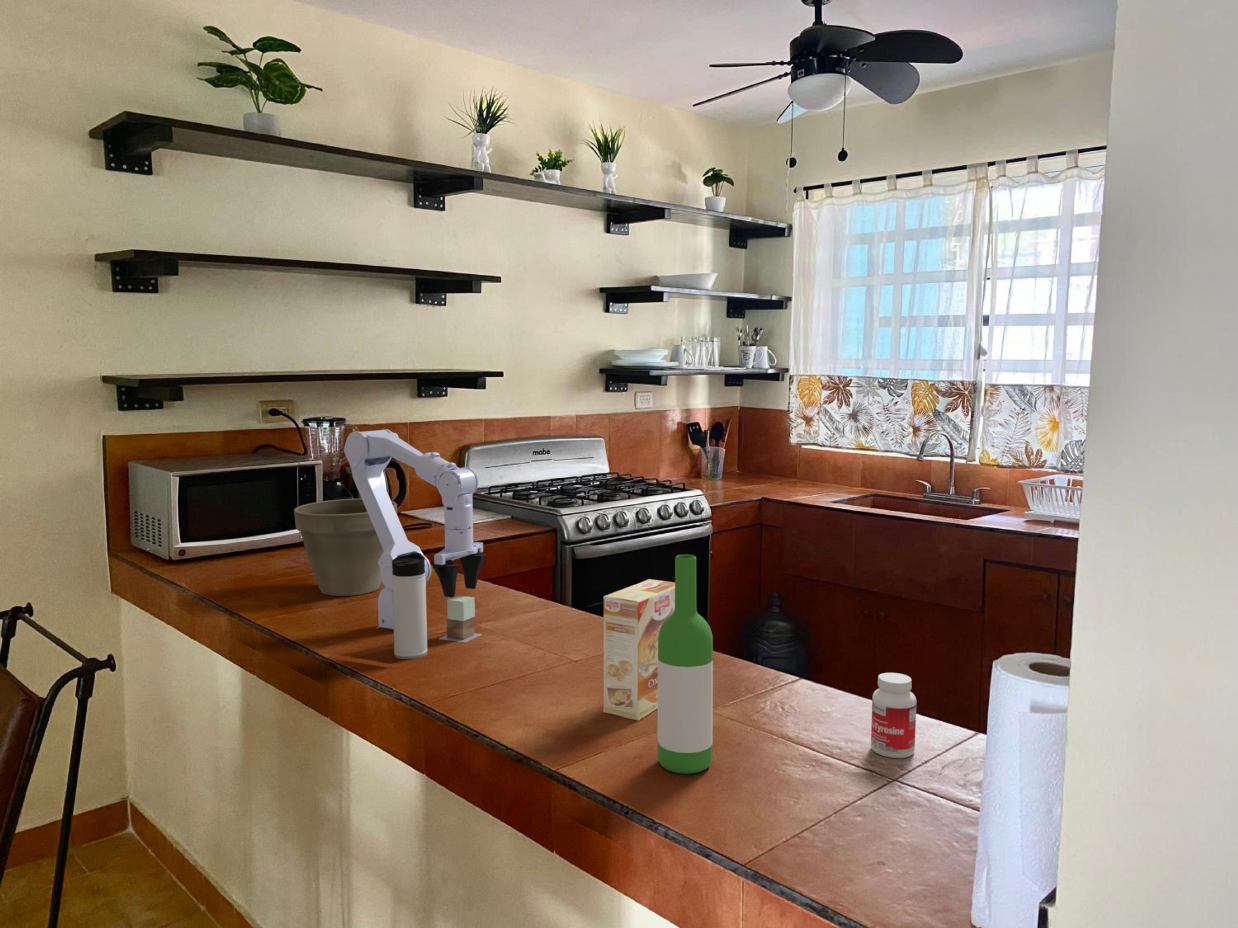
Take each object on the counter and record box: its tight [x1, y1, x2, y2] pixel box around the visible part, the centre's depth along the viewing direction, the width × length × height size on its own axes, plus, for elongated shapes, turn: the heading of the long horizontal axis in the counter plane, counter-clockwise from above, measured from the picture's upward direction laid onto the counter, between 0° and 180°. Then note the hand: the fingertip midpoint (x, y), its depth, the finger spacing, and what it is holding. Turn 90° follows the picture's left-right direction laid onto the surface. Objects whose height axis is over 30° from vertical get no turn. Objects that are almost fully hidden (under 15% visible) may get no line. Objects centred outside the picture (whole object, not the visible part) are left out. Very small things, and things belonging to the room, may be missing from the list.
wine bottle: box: [657, 553, 714, 775], centre depth 131 cm, size 8×8×30 cm
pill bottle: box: [870, 672, 917, 759], centre depth 136 cm, size 6×6×11 cm
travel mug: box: [392, 553, 428, 660], centre depth 181 cm, size 6×7×20 cm
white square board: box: [438, 632, 483, 644], centre depth 193 cm, size 12×12×1 cm
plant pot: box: [293, 498, 398, 597], centre depth 236 cm, size 25×25×22 cm
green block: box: [446, 595, 476, 621], centre depth 193 cm, size 4×4×4 cm
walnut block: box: [446, 617, 475, 640], centre depth 193 cm, size 4×4×4 cm
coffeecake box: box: [603, 578, 675, 721], centre depth 156 cm, size 15×7×20 cm, turn 148°
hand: (460, 592), depth 193 cm, fingers open, 7 cm apart
